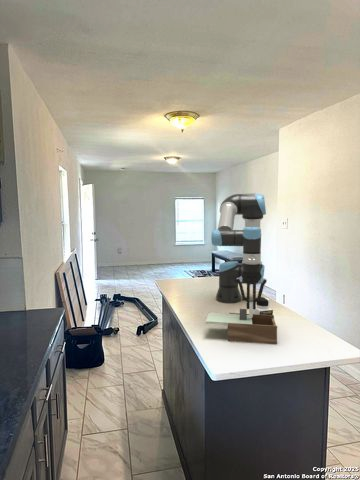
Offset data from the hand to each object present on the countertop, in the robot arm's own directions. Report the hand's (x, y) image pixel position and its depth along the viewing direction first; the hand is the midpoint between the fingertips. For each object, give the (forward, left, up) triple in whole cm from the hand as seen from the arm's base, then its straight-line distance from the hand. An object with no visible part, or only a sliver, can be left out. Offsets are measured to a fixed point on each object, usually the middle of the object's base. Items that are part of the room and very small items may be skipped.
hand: (250, 316), depth 140 cm
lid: (0, -9, -2) cm, 10 cm away
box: (0, 0, -9) cm, 9 cm away
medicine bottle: (-19, +6, -9) cm, 22 cm away
